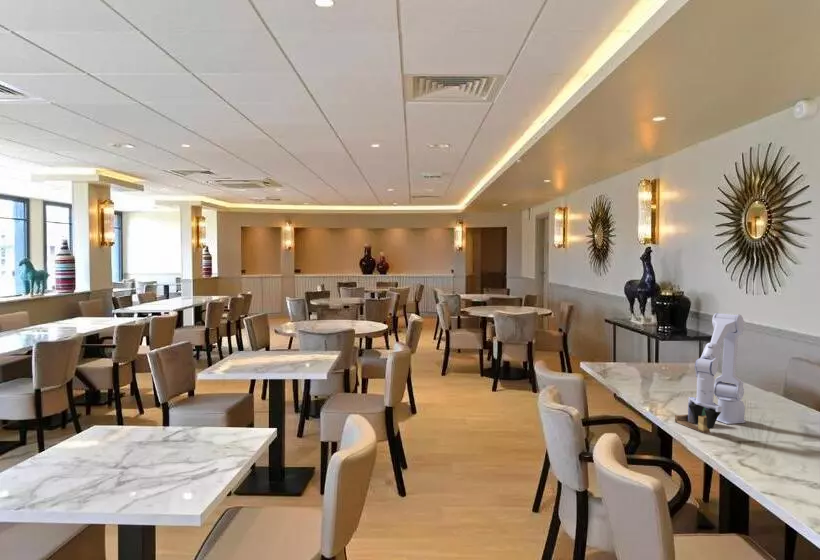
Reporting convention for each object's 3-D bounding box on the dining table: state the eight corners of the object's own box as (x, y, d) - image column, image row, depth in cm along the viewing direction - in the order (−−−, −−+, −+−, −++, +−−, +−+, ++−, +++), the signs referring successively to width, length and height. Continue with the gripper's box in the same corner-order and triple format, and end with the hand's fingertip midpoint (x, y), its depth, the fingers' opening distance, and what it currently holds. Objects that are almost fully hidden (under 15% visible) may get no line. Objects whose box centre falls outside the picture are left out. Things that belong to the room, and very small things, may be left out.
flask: (689, 424, 222) (690, 397, 222) (685, 421, 225) (686, 395, 225) (711, 423, 224) (712, 396, 223) (706, 421, 226) (707, 395, 226)
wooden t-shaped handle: (698, 419, 228) (699, 405, 228) (729, 430, 213) (730, 415, 213) (674, 421, 225) (674, 407, 224) (703, 433, 210) (704, 417, 210)
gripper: (682, 386, 217) (681, 421, 218) (711, 395, 203) (710, 432, 204) (697, 385, 219) (696, 419, 220) (727, 394, 205) (726, 431, 206)
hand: (703, 425), depth 212 cm, fingers open, 6 cm apart
